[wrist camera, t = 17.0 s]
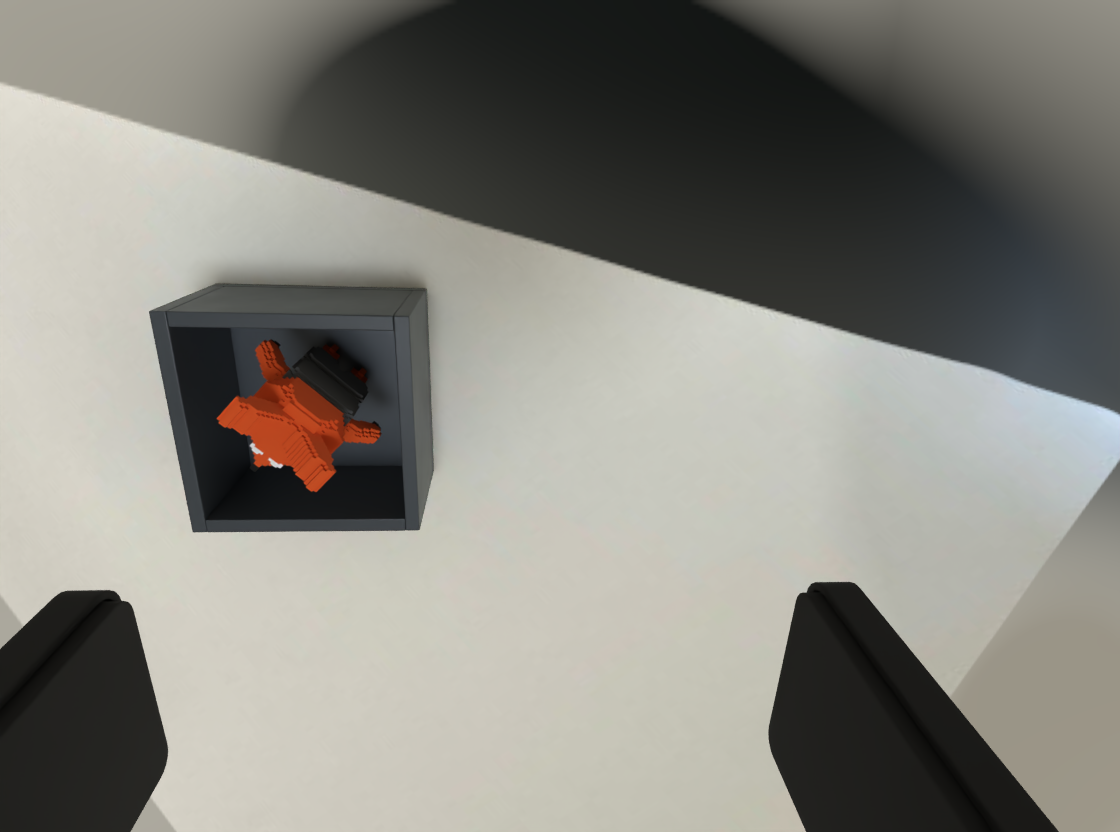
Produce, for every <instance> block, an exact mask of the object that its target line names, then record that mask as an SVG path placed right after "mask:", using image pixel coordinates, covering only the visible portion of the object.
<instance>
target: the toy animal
mask: <svg viewBox="0 0 1120 832" xmlns="http://www.w3.org/2000/svg"><path fill="white" fill-rule="evenodd" d="M280 346H281V345H280V344H279V343H278V342H277V341H273V340H272V339H271V340H269V341H267V340H264V341H263V342H262V343H261V344H260V345H259V346H258V347H257V348H256V350H255V351H256V352H257V354H256V356H257V357H258V358H257V359H258V360H259V362H260V363H261V364H260V367H261V370H262V371H263V372H262V373H261V374H262V375H264V376H263V377H264V378H265V379H266V380H268V381H266V382H265V384H264V385H263V386H262V387H261V388H260V389H259V390H258V391H257V392H256V394H255V395H254V396H253V397H252V396H251V395H250V396H249V397H248V398H247V399H245V398H244V397H242V398H241V397H239V396H238V395H237V396H236V397H235V398H234V400H233V401H232V402H231V403H230V404H229V405H228V406H227V407H226V409H225V410H224V411H223V412H222V413H221V414H220V415H219V416H218V417H217V420H219V424H220V425H222V426H223V427H225V428H226V427H228V428H230V429H231V428H233V429H235V430H236V431H237V432H239V433H240V434H241V435H243V434H245V435H246V436H248V435H250V436H251V437H252V438H251V439H252V440H253V442H252V444H251V445H250V447H251V448H252V449H251V450H252V451H253V454H254V455H255V457H254V459H255V460H256V461H255V462H254V463H253V464H252V465H251V466H250V467H249V468H250V469H251V470H253V471H254V472H256V471H257V469H258V468H259V467H260V466H261V465H264V466H267V464H268V465H269V466H271V465H272V466H274V467H275V468H276V467H279V468H281V467H282V466H283V465H287V466H288V465H290V466H291V467H293V468H294V469H293V471H295V472H296V473H295V475H297V476H298V477H299V478H301V479H302V480H303V481H304V484H305V485H307V486H306V488H307V489H308V490H310V491H311V492H312V491H315V492H317V491H318V490H319V489H320V488H321V487H322V486H323V485H324V484H325V483H326V482H327V481H328V480H329V479H330V478H331V477H332V476H333V474H334V473H335V472H336V470H335V469H334V466H333V465H332V462H333V460H334V459H333V458H332V457H331V456H332V455H331V454H332V453H333V452H334V451H335V450H336V449H337V448H338V447H339V446H340V445H341V444H342V443H343V442H344V441H345V442H349V443H351V442H352V441H353V442H354V443H358V442H361V443H364V444H365V443H367V444H369V443H371V444H373V443H375V442H376V441H377V440H378V438H379V437H380V436H381V434H382V433H381V432H380V431H381V427H379V424H378V423H376V422H375V421H373V422H372V423H369V422H365V421H364V422H363V421H362V420H360V421H358V420H356V421H355V420H354V419H353V417H354V415H355V414H356V412H357V410H358V409H359V405H360V404H361V403H362V401H363V400H364V399H365V397H366V396H367V394H368V391H367V389H368V387H367V386H366V384H365V383H366V381H367V378H366V377H365V376H364V375H365V373H366V372H367V371H366V370H365V369H364V368H363V367H362V368H361V369H360V370H359V371H358V370H356V369H355V368H353V369H352V370H351V371H348V372H346V371H344V372H343V371H342V370H341V369H339V367H340V366H339V365H337V364H338V363H339V362H338V361H337V359H338V358H339V357H340V355H338V354H337V353H336V351H337V350H338V349H339V347H337V346H336V345H335V344H334V345H333V346H332V347H331V348H330V347H329V346H328V345H325V346H324V347H323V348H320V347H317V348H315V347H314V346H313V347H312V348H311V349H310V350H309V351H308V352H307V353H306V354H305V355H304V356H303V357H302V358H301V359H300V360H298V361H297V362H296V363H295V364H294V365H293V366H292V367H291V368H289V367H288V366H287V365H285V364H286V363H285V362H284V360H285V358H284V357H283V355H282V354H281V353H282V352H281V351H279V350H280V349H279V347H280Z"/></svg>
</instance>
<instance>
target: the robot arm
mask: <svg viewBox="0 0 1120 832" xmlns="http://www.w3.org/2000/svg"><path fill="white" fill-rule="evenodd" d="M769 744H770V748H771V752H772V755H773V757H774V760H775V762H776V764H777V767H778V769H779V771H780V773H781V776H782V778H783V780H784V782H785V785H786V787H787V789H788V792H789V794H790V796H791V798H792V801H793V803H794V805H795V807H796V810H797V812H798V814H799V816H800V819H801V821H802V823H803V826H804V828H805V830H806V832H1058V830H1057V829H1056V828H1055V826H1054V825H1053V824H1052V823H1051V822H1050V820H1049V819H1048V818H1047V817H1046V815H1045V814H1044V813H1043V812H1042V811H1041V809H1040V808H1039V807H1038V806H1037V805H1036V803H1035V802H1034V801H1033V800H1032V798H1031V797H1030V796H1029V795H1028V793H1027V792H1026V791H1025V790H1024V789H1023V787H1022V786H1021V785H1020V784H1019V782H1018V781H1017V780H1016V779H1015V777H1014V776H1013V775H1012V774H1011V773H1010V771H1009V770H1008V769H1007V768H1006V766H1005V765H1004V764H1003V763H1002V762H1001V760H1000V759H999V758H998V757H997V756H996V754H995V753H994V752H993V751H992V750H991V748H990V747H989V746H988V744H987V743H986V742H985V741H984V739H983V738H982V737H981V736H980V735H979V733H978V732H977V731H976V730H975V728H974V727H973V726H972V725H971V724H970V722H969V721H968V720H967V719H966V718H965V716H964V715H963V714H962V713H961V711H960V710H959V709H958V708H957V706H956V705H955V704H954V703H953V702H952V700H951V699H950V698H949V697H948V695H947V694H946V693H945V692H944V690H943V689H942V688H941V687H940V686H939V684H938V683H937V682H936V681H935V679H934V678H933V677H932V676H931V675H930V673H929V672H928V671H927V670H926V668H925V667H924V666H923V665H922V664H921V662H920V661H919V660H918V659H917V657H916V656H915V655H914V654H913V652H912V651H911V650H910V649H909V648H908V646H907V645H906V644H905V643H904V641H903V640H902V639H901V638H900V637H899V635H898V634H897V633H896V632H895V630H894V629H893V628H892V627H891V626H890V624H889V623H888V622H887V621H886V619H885V618H884V617H883V616H882V615H881V613H880V612H879V611H878V610H877V608H876V607H875V606H874V605H873V603H872V602H871V601H870V600H869V599H868V597H867V596H866V595H865V594H864V592H863V591H862V590H861V589H860V588H859V587H858V586H857V585H856V584H855V583H852V582H815V583H812V584H811V585H810V586H809V588H808V590H807V593H800V594H799V595H798V597H797V600H796V604H795V608H794V613H793V618H792V622H791V627H790V631H789V636H788V641H787V645H786V650H785V655H784V659H783V664H782V669H781V673H780V678H779V683H778V687H777V692H776V696H775V701H774V706H773V710H772V715H771V720H770V724H769ZM167 757H168V746H167V741H166V737H165V733H164V729H163V725H162V721H161V717H160V713H159V709H158V705H157V701H156V698H155V694H154V690H153V686H152V682H151V678H150V674H149V670H148V666H147V662H146V658H145V654H144V650H143V646H142V642H141V638H140V634H139V630H138V626H137V622H136V618H135V615H134V611H133V608H132V606H131V604H130V603H129V602H126V601H121V599H120V596H119V595H118V594H117V593H116V592H114V591H110V590H89V591H65V592H61V593H60V594H58V595H57V596H55V597H54V598H53V599H52V600H51V601H50V602H49V603H48V604H47V605H46V606H45V607H44V608H42V609H41V610H40V611H39V612H38V613H37V614H36V615H35V616H34V617H33V618H32V619H31V620H30V621H29V622H28V623H27V624H26V625H25V626H24V627H23V628H22V629H21V630H20V631H19V632H18V633H17V634H15V636H13V637H12V638H11V639H10V640H9V641H8V642H7V643H6V644H5V645H4V646H3V647H2V648H1V649H0V832H130V831H131V830H132V828H133V826H134V824H135V823H136V821H137V819H138V817H139V816H140V814H141V812H142V810H143V808H144V807H145V805H146V803H147V801H148V800H149V798H150V796H151V794H152V793H153V791H154V789H155V787H156V785H157V784H158V782H159V780H160V778H161V776H162V774H163V772H164V769H165V766H166V762H167Z"/></svg>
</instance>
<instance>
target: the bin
mask: <svg viewBox="0 0 1120 832" xmlns="http://www.w3.org/2000/svg"><path fill="white" fill-rule="evenodd" d="M149 314H150V319H151V324H152V329H153V334H154V339H155V344H156V349H157V354H158V359H159V364H160V369H161V374H162V379H163V384H164V389H165V394H166V399H167V404H168V409H169V415H170V420H171V425H172V430H173V435H174V440H175V445H176V450H177V455H178V460H179V465H180V470H181V475H182V480H183V485H184V490H185V495H186V500H187V505H188V510H189V515H190V520H191V525H192V530H193V532H207V531H208V532H285V531H403V530H420V526H421V522H422V518H423V513H424V509H425V505H426V501H427V497H428V492H429V488H430V484H431V480H432V475H433V471H434V465H433V439H432V412H431V386H430V360H429V333H428V307H427V289H419V288H377V287H335V286H292V285H250V284H214V285H212V286H209V287H207V288H204V289H202V290H199V291H197V292H195V293H192V294H190V295H187V296H185V297H182V298H180V299H178V300H175V301H173V302H170V303H168V304H166V305H163V306H161V307H158V308H156V309H153V310H151V311H149ZM271 339H272V340H273V341H277V342H278V343H279V344H280V345H281V346H280V347H279V349H280V350H279V351H281V352H282V353H281V354H282V355H283V357H284V358H285V360H284V362H285V363H286V364H285V365H287V366H288V367H289V368H291V367H292V366H293V365H294V364H295V363H296V362H297V361H298V360H300V359H301V358H302V357H303V356H304V355H305V354H306V353H307V352H308V351H309V350H310V349H311V348H312V347H313V346H314V347H315V348H317V347H320V348H323V347H324V346H325V345H328V346H329V347H330V348H331V347H332V346H333V345H334V344H335V345H336V346H337V347H339V349H338V350H337V351H336V353H337V354H338V355H340V357H339V358H338V359H337V361H338V362H339V363H338V364H337V365H339V366H340V367H339V369H341V370H342V371H343V372H344V371H346V372H348V371H351V370H352V369H353V368H355V369H356V370H358V371H359V370H360V369H361V368H362V367H363V368H364V369H365V370H366V371H367V372H366V373H365V375H364V376H365V377H366V378H367V381H366V383H365V384H366V386H367V387H368V389H367V391H368V394H367V396H366V397H365V399H364V400H363V401H362V403H361V404H360V405H359V409H358V410H357V412H356V414H355V415H354V417H353V419H354V420H355V421H356V420H358V421H360V420H362V421H363V422H364V421H365V422H369V423H372V422H373V421H375V422H376V423H378V424H379V427H381V431H380V432H381V433H382V434H381V436H380V437H379V438H378V440H377V441H376V442H375V443H373V444H371V443H369V444H367V443H365V444H364V443H361V442H358V443H354V442H353V441H352V442H351V443H349V442H345V441H344V442H343V443H342V444H341V445H340V446H339V447H338V448H337V449H336V450H335V451H334V452H333V453H332V454H331V455H332V456H331V457H332V458H333V459H334V460H333V462H332V465H333V466H334V469H335V470H336V472H335V473H334V474H333V476H332V477H331V478H330V479H329V480H328V481H327V482H326V483H325V484H324V485H323V486H322V487H321V488H320V489H319V490H318V491H317V492H315V491H312V492H311V491H310V490H308V489H307V488H306V486H307V485H305V484H304V481H303V480H302V479H301V478H299V477H298V476H297V475H295V473H296V472H295V471H293V469H294V468H293V467H291V466H290V465H288V466H287V465H283V466H282V467H281V468H279V467H276V468H275V467H274V466H272V465H271V466H269V465H268V464H267V466H264V465H261V466H260V467H259V468H258V469H257V471H256V472H254V471H253V470H251V469H250V468H249V467H250V466H251V465H252V464H253V463H254V462H255V461H256V460H255V459H254V457H255V455H254V454H253V451H252V450H251V449H252V448H251V447H250V445H251V444H252V442H253V440H252V439H251V438H252V437H251V436H250V435H248V436H246V435H245V434H243V435H241V434H240V433H239V432H237V431H236V430H235V429H233V428H231V429H230V428H228V427H226V428H225V427H223V426H222V425H220V424H219V420H217V417H218V416H219V415H220V414H221V413H222V412H223V411H224V410H225V409H226V407H227V406H228V405H229V404H230V403H231V402H232V401H233V400H234V398H235V397H236V396H237V395H238V396H239V397H241V398H242V397H244V398H245V399H247V398H248V397H249V396H250V395H251V396H252V397H253V396H254V395H255V394H256V392H257V391H258V390H259V389H260V388H261V387H262V386H263V385H264V384H265V382H266V381H268V380H266V379H265V378H264V377H263V376H264V375H262V374H261V373H262V372H263V371H262V370H261V367H260V364H261V363H260V362H259V360H258V359H257V358H258V357H257V356H256V354H257V352H256V351H255V350H256V348H257V347H258V346H259V345H260V344H261V343H262V342H263V341H264V340H267V341H269V340H271Z"/></svg>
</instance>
